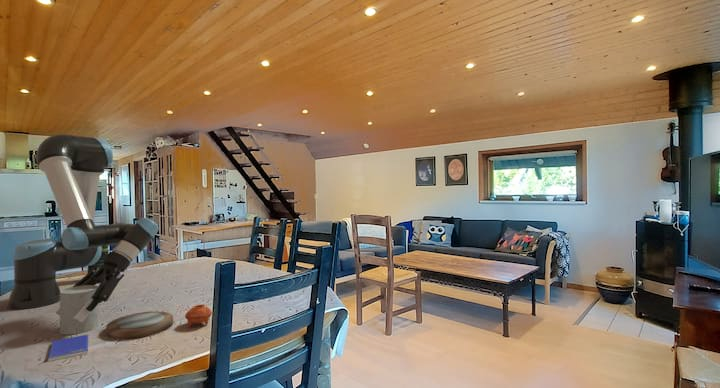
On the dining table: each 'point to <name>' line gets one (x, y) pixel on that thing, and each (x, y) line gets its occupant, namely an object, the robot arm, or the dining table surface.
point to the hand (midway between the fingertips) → (68, 317)
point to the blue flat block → (68, 347)
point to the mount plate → (139, 325)
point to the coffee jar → (100, 259)
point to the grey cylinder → (77, 309)
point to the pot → (198, 314)
